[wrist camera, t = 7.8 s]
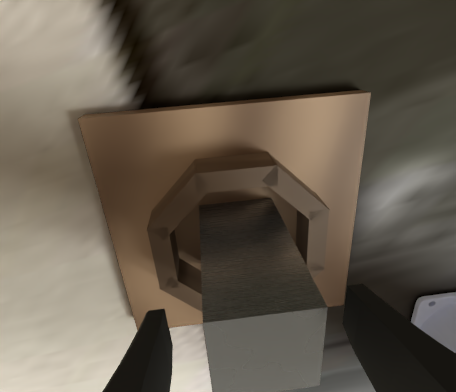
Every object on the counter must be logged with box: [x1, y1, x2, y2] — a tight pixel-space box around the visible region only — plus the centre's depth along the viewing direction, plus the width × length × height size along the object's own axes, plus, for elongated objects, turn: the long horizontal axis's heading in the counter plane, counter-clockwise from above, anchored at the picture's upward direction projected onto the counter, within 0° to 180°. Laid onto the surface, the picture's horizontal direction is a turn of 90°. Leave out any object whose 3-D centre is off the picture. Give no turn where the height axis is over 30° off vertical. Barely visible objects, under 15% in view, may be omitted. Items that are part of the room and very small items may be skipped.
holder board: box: [78, 90, 371, 330], centre depth 17 cm, size 14×14×3 cm
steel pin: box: [199, 198, 328, 392], centre depth 14 cm, size 4×4×8 cm
